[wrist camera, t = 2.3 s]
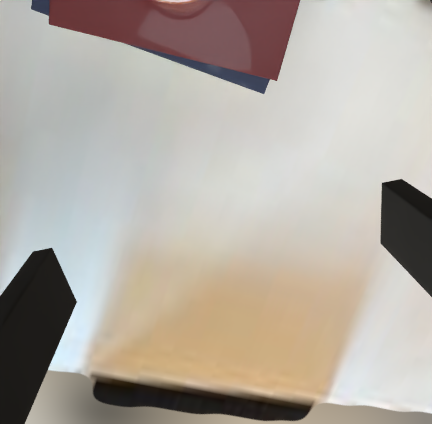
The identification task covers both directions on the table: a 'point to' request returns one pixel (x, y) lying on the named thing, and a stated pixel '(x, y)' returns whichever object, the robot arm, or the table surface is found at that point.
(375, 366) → the table surface
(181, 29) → the burgundy book
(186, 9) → the terracotta pot
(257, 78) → the navy book
